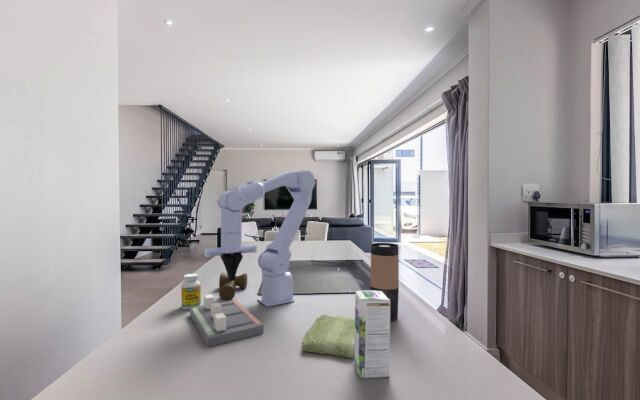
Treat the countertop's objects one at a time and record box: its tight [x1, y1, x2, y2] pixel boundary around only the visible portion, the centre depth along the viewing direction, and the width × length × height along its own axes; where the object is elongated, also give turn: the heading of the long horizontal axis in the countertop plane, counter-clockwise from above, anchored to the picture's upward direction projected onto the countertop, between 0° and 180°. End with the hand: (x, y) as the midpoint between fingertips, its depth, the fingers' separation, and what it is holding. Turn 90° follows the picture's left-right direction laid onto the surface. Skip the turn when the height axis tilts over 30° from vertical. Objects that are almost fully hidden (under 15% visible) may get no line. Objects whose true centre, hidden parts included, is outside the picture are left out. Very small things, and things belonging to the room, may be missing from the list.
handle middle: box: [211, 302, 222, 319], centre depth 79 cm, size 2×3×3 cm, turn 32°
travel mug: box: [370, 242, 400, 322], centre depth 85 cm, size 8×8×20 cm
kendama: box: [218, 272, 248, 301], centre depth 108 cm, size 6×10×20 cm
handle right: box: [203, 294, 215, 309], centre depth 86 cm, size 2×3×3 cm, turn 32°
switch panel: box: [189, 299, 264, 348], centre depth 80 cm, size 13×22×2 cm, turn 32°
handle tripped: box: [214, 313, 226, 332], centre depth 72 cm, size 2×3×3 cm, turn 32°
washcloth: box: [301, 314, 355, 359], centre depth 72 cm, size 13×18×3 cm
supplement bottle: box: [180, 273, 202, 310], centre depth 93 cm, size 5×5×10 cm
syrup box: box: [353, 289, 391, 379], centre depth 59 cm, size 6×6×14 cm
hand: (231, 279), depth 88 cm, fingers closed
